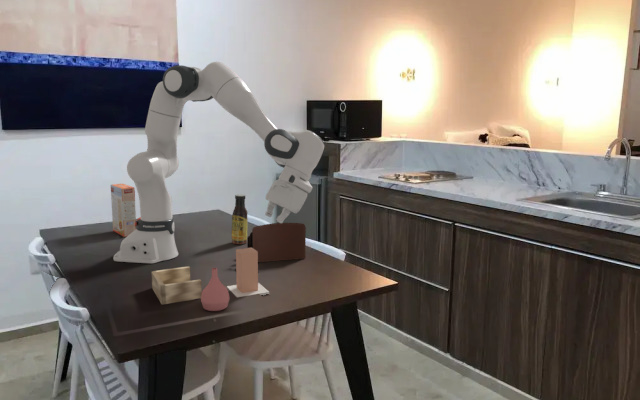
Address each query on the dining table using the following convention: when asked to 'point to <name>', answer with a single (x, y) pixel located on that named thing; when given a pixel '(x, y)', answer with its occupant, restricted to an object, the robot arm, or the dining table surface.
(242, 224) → the sauce bottle
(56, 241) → the dining table surface
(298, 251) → the letter holder
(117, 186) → the cracker box
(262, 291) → the coaster
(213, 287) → the pink vase
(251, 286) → the block
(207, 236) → the dining table surface
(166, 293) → the crate
